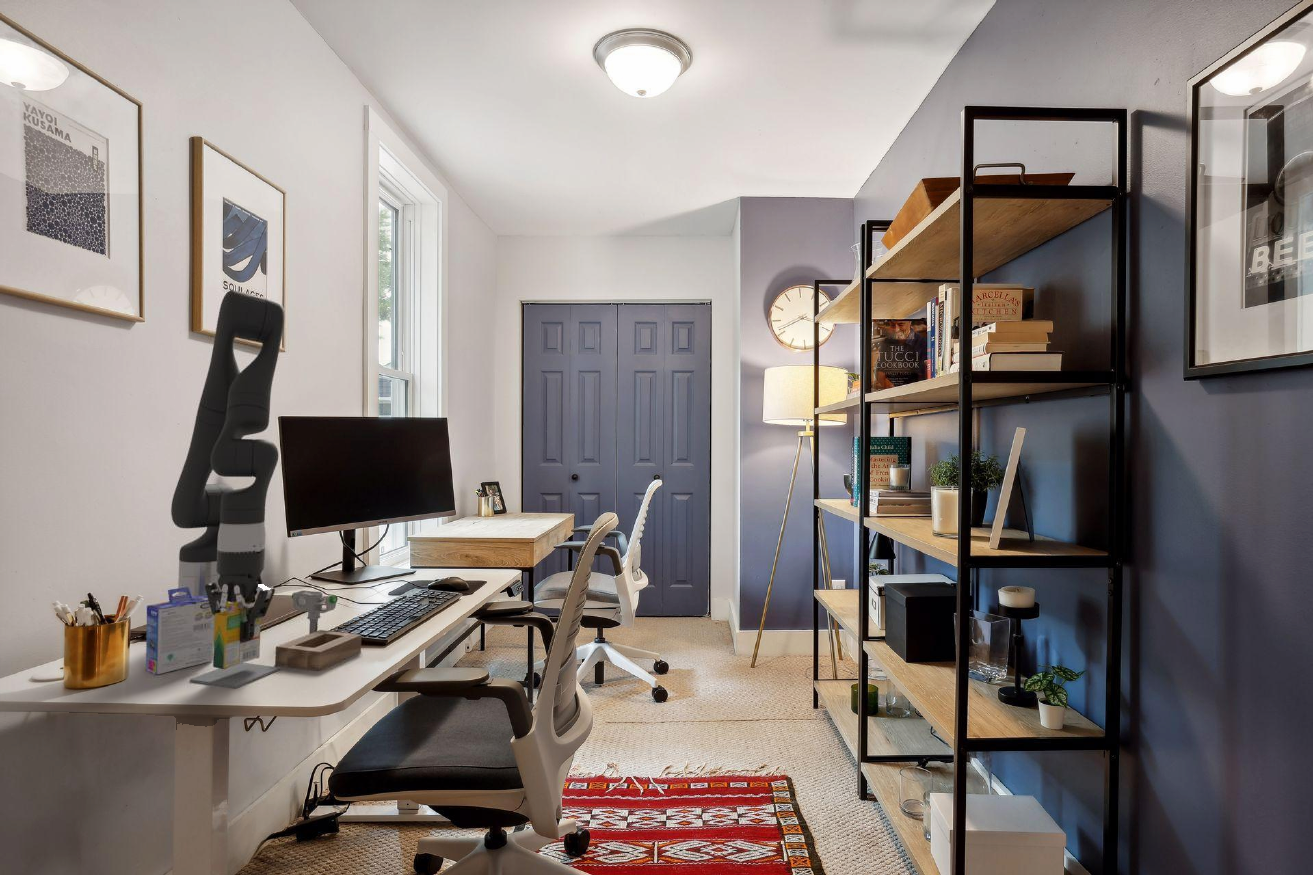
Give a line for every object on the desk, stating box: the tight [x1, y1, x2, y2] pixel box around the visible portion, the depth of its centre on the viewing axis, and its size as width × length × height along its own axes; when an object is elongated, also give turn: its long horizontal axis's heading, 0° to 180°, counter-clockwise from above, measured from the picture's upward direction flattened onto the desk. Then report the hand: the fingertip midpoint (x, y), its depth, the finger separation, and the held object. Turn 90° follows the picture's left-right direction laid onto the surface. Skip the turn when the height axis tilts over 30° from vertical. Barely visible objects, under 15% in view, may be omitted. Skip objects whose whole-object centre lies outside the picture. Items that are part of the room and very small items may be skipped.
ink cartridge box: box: [145, 587, 214, 675], centre depth 127 cm, size 10×6×14 cm, turn 149°
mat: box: [189, 662, 281, 689], centre depth 123 cm, size 10×10×1 cm
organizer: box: [274, 629, 362, 671], centre depth 134 cm, size 10×12×4 cm
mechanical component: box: [291, 590, 339, 634], centre depth 146 cm, size 3×10×10 cm, turn 79°
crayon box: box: [212, 601, 262, 669], centre depth 123 cm, size 7×3×12 cm, turn 161°
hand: (237, 639), depth 123 cm, fingers closed on crayon box, 3 cm apart
